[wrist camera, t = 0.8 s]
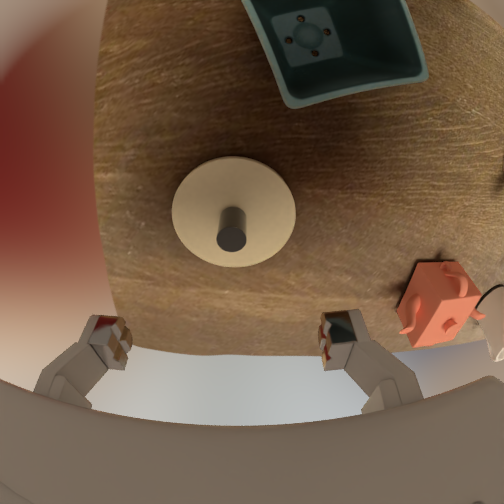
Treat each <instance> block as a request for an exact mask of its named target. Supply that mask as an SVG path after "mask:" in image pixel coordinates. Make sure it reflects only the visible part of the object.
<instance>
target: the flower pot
mask: <svg viewBox="0 0 504 504" xmlns="http://www.w3.org/2000/svg"><path fill="white" fill-rule="evenodd" d="M241 1H242V3H243V5H244V7H245V9H246V11H247V13H248V15H249V17H250V20H251V22H252V24H253V26H254V28H255V31H256V33H257V35H258V37H259V40H260V42H261V44H262V47H263V49H264V51H265V54H266V56H267V59H268V61H269V64H270V66H271V69H272V71H273V74H274V77H275V79H276V82H277V85H278V88H279V90H280V93H281V96H282V99H283V101H284V103H285V104H286V106H287V107H289V108H291V109H297V108H302V107H306V106H309V105H312V104H316V103H319V102H323V101H327V100H330V99H333V98H337V97H341V96H345V95H349V94H354V93H358V92H363V91H367V90H373V89H379V88H385V87H391V86H397V85H404V84H412V83H420V82H424V81H426V80H427V79H428V78H429V73H428V68H427V63H426V60H425V56H424V53H423V49H422V46H421V43H420V40H419V38H418V34H417V31H416V28H415V25H414V22H413V20H412V17H411V14H410V12H409V9H408V6H407V4H406V1H405V0H241ZM299 16H302V17H303V18H304V21H303V22H300V21H299V20H298V17H299ZM325 29H327V30H329V31H330V34H329V35H325V34H324V30H325ZM287 38H291V39H292V43H290V44H289V43H287V42H286V39H287ZM314 50H315V51H317V52H318V56H316V57H315V56H313V55H312V51H314Z"/></svg>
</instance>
